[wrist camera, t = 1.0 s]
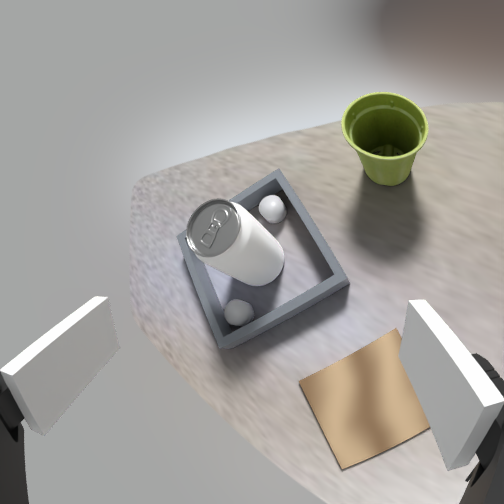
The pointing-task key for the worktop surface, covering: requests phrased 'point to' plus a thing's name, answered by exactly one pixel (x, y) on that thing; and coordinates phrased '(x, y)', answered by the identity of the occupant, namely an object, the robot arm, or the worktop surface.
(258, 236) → the can
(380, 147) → the plant pot
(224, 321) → the tray
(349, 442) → the pad
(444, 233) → the worktop surface
